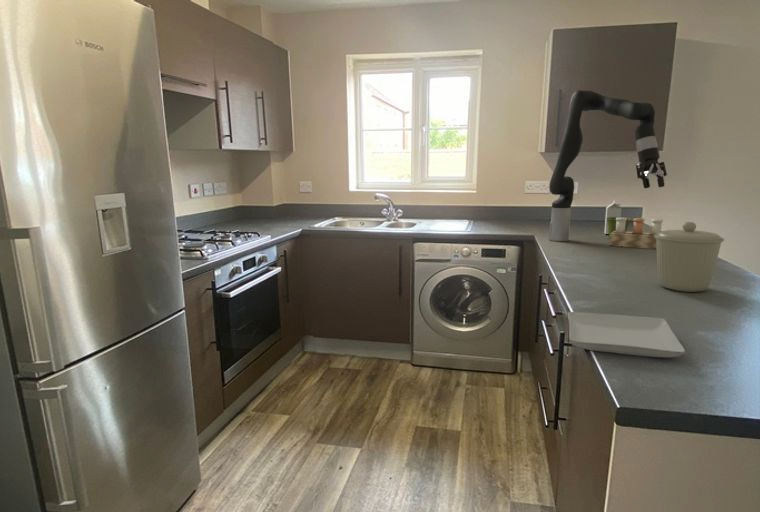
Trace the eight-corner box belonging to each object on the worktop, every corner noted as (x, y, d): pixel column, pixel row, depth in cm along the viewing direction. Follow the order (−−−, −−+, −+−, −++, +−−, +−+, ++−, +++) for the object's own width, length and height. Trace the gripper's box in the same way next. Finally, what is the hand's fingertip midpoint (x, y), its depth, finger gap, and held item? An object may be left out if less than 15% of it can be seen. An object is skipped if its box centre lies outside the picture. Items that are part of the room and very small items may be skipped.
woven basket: (609, 245, 223) (610, 233, 222) (612, 242, 231) (613, 231, 230) (662, 249, 211) (663, 236, 210) (663, 246, 219) (664, 233, 218)
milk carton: (605, 235, 257) (607, 201, 254) (604, 233, 264) (606, 200, 260) (619, 235, 255) (622, 201, 251) (618, 233, 261) (620, 200, 258)
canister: (720, 299, 133) (729, 226, 129) (648, 291, 142) (654, 223, 138) (715, 285, 148) (723, 220, 144) (650, 279, 157) (656, 217, 153)
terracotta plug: (631, 236, 220) (632, 219, 218) (632, 234, 223) (633, 218, 222) (642, 236, 217) (643, 219, 216) (643, 235, 221) (644, 218, 219)
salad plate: (568, 354, 97) (569, 338, 96) (566, 322, 116) (567, 309, 115) (685, 367, 89) (687, 351, 89) (663, 331, 109) (664, 317, 108)
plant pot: (603, 240, 239) (605, 218, 237) (604, 237, 250) (606, 216, 248) (629, 241, 234) (631, 219, 232) (629, 238, 244) (631, 217, 242)
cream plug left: (614, 235, 224) (615, 218, 222) (615, 233, 228) (616, 217, 226) (624, 235, 221) (625, 218, 220) (625, 234, 225) (627, 217, 224)
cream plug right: (649, 237, 216) (650, 219, 214) (650, 235, 219) (651, 218, 218) (660, 237, 213) (662, 220, 211) (661, 236, 217) (663, 219, 215)
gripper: (651, 152, 197) (658, 188, 196) (627, 152, 192) (634, 190, 191) (667, 146, 190) (674, 184, 189) (643, 146, 185) (650, 185, 184)
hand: (654, 187), depth 190 cm, fingers open, 8 cm apart
